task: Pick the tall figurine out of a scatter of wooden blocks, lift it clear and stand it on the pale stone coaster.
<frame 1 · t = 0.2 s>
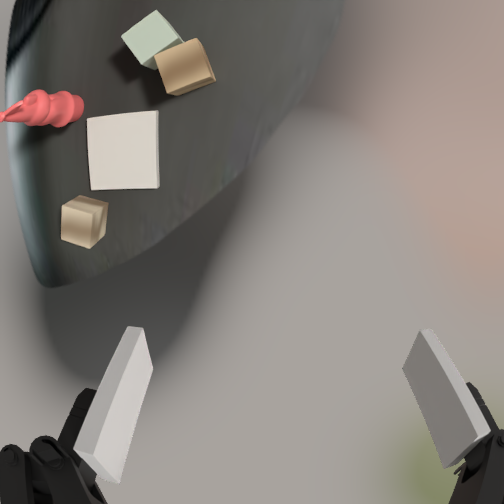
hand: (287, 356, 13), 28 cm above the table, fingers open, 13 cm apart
coaster: (123, 150, 35), on the table
figurine: (74, 107, 32), on the table
maple block: (92, 214, 39), on the table
oak block: (190, 71, 31), on the table
sage block: (161, 45, 29), on the table
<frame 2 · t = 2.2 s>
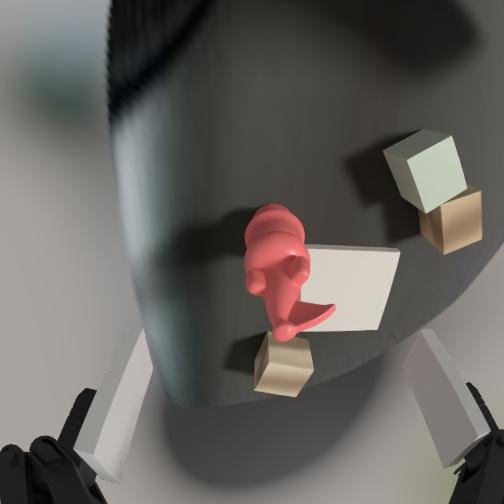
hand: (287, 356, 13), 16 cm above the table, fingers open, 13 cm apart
coaster: (344, 289, 31), on the table
figurine: (273, 222, 28), on the table
maple block: (280, 349, 35), on the table
oak block: (436, 205, 27), on the table
sage block: (412, 163, 25), on the table
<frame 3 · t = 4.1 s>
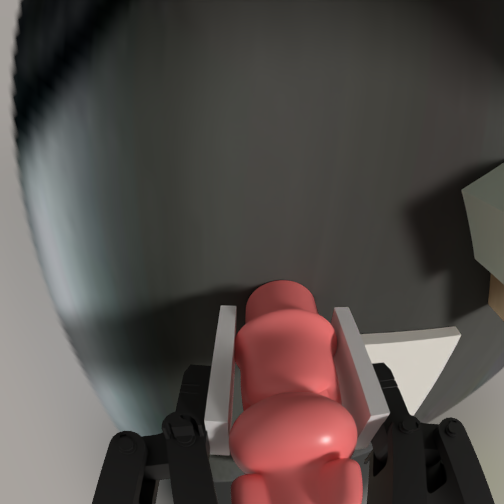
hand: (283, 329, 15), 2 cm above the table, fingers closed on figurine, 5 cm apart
coaster: (378, 381, 19), on the table
figurine: (281, 306, 17), on the table, touching gripper
sage block: (494, 208, 14), on the table
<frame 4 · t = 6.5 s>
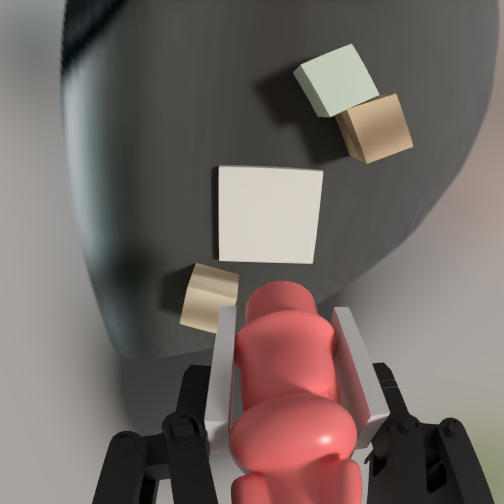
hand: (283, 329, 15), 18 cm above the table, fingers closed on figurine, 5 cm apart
coaster: (268, 214, 31), on the table
figurine: (281, 307, 17), point 16 cm above the table, touching gripper
maple block: (212, 286, 35), on the table
oak block: (362, 125, 27), on the table
sage block: (327, 84, 25), on the table
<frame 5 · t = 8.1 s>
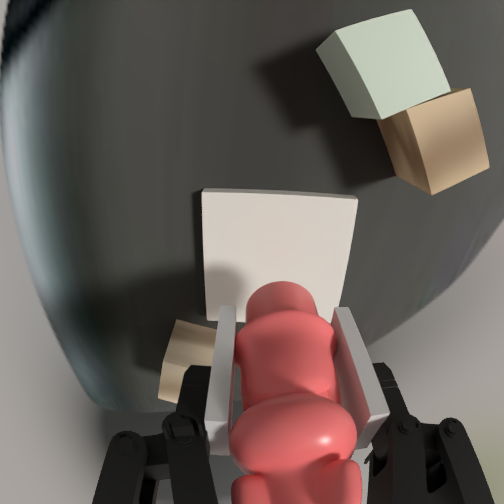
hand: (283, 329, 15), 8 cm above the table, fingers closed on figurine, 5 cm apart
coaster: (276, 259, 22), on the table
figurine: (281, 307, 17), point 6 cm above the table, touching gripper
maple block: (200, 346, 26), on the table
oak block: (413, 131, 17), on the table
sage block: (365, 70, 16), on the table
when the fingers open (4 cm above the table, at t = 9.2 s): figurine stays where it is, resting on coaster.
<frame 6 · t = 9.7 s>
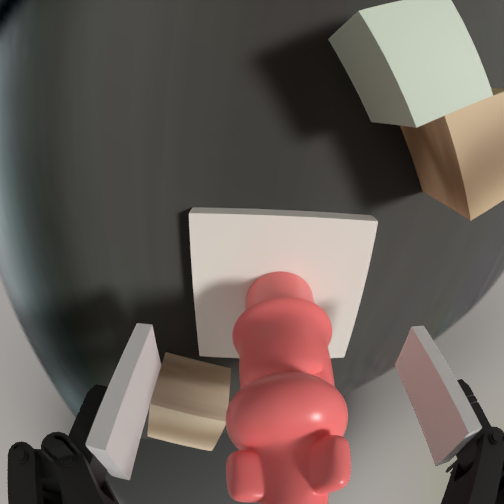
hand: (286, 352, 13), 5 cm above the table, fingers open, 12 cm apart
coaster: (278, 289, 18), on the table
figurine: (280, 297, 17), point 1 cm above the table, touching coaster
maple block: (193, 379, 22), on the table
oak block: (440, 138, 14), on the table
sage block: (387, 66, 12), on the table
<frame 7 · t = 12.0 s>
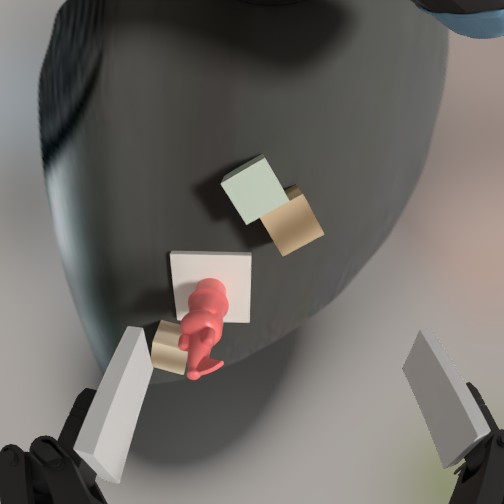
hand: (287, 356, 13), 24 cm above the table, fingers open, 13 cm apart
coaster: (212, 286, 39), on the table
figurine: (211, 289, 38), point 1 cm above the table, touching coaster
maple block: (175, 336, 43), on the table
oak block: (286, 212, 35), on the table
sage block: (254, 182, 34), on the table
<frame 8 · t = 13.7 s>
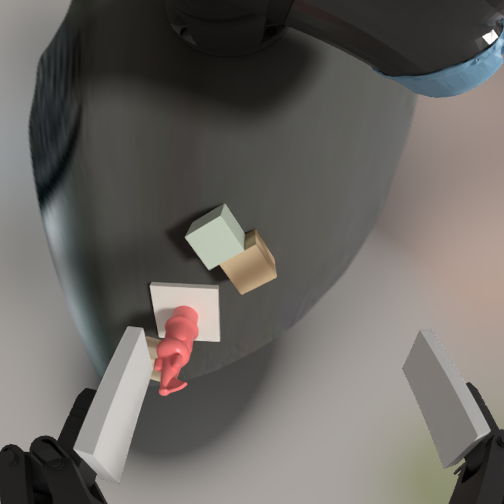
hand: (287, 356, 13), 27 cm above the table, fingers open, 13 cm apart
coaster: (187, 311, 45), on the table
figurine: (186, 314, 44), point 1 cm above the table, touching coaster
maple block: (158, 349, 49), on the table
oak block: (248, 252, 41), on the table
sage block: (218, 228, 39), on the table
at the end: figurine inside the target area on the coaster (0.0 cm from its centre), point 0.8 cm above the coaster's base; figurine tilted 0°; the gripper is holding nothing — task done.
